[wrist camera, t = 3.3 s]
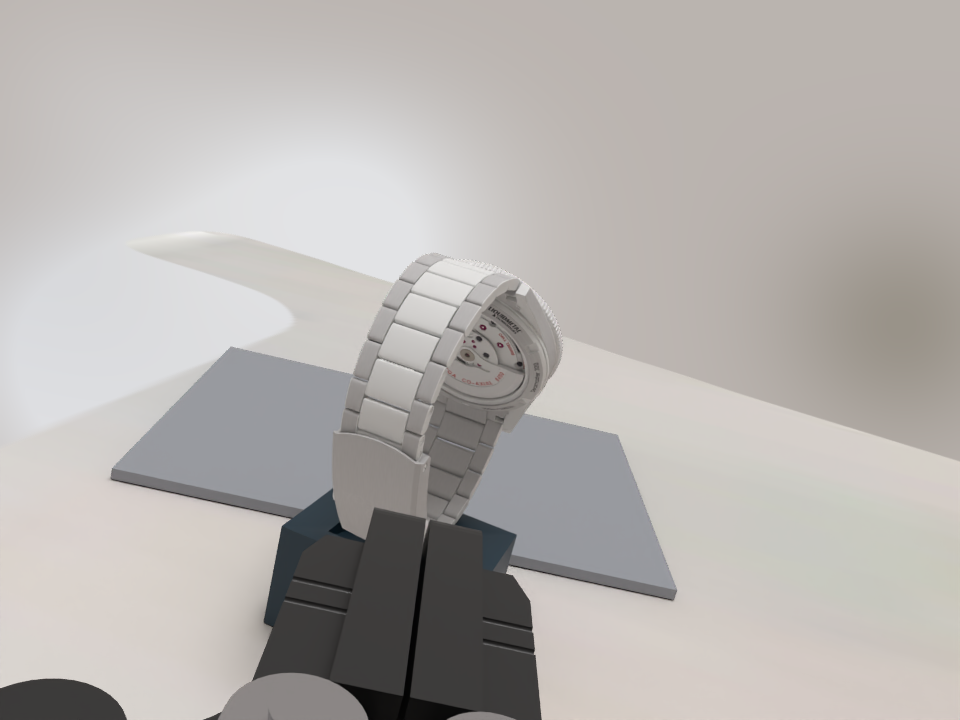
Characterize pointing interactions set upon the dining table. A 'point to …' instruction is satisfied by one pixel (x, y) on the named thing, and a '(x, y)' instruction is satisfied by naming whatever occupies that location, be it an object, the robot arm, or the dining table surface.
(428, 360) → the watch
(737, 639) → the dining table surface
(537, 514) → the mat
